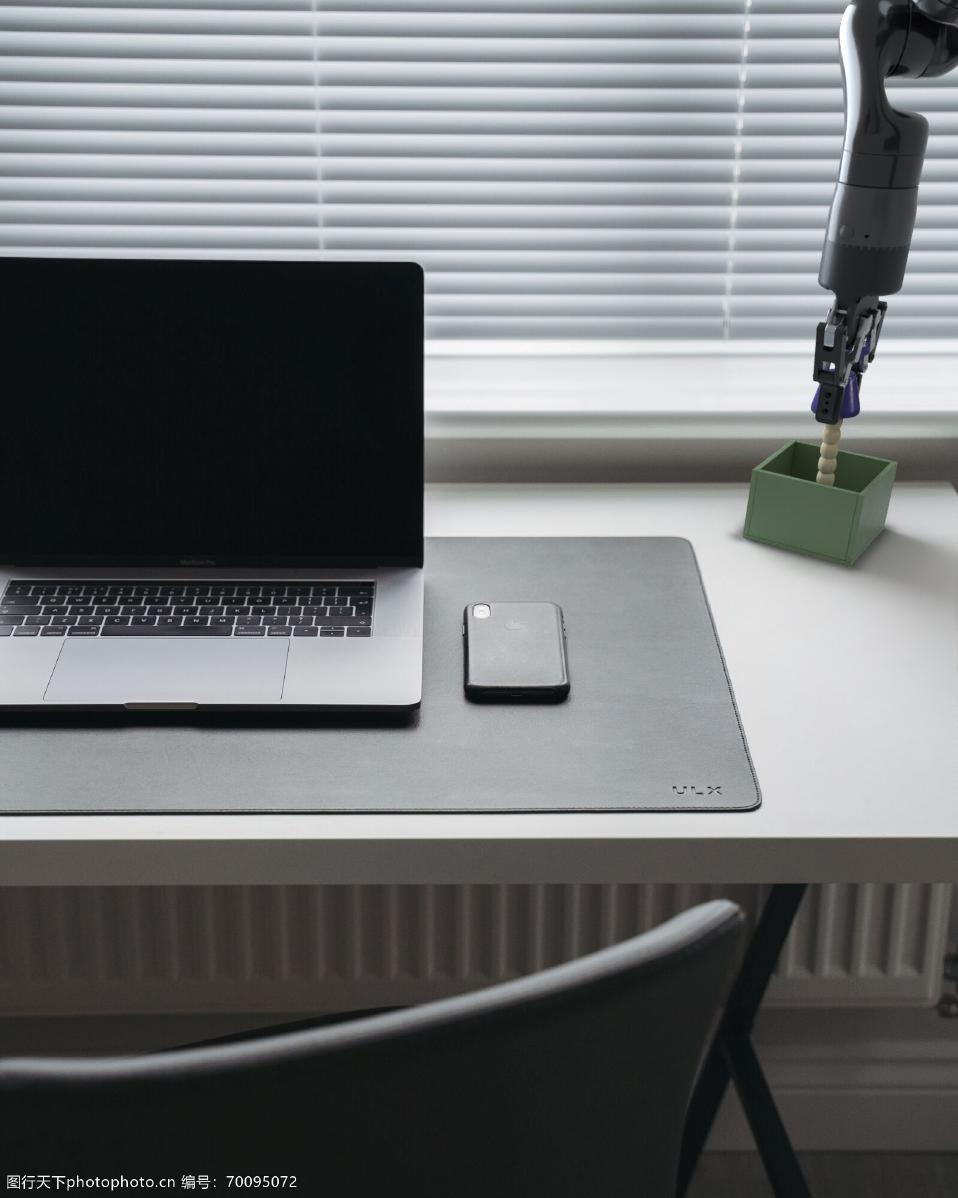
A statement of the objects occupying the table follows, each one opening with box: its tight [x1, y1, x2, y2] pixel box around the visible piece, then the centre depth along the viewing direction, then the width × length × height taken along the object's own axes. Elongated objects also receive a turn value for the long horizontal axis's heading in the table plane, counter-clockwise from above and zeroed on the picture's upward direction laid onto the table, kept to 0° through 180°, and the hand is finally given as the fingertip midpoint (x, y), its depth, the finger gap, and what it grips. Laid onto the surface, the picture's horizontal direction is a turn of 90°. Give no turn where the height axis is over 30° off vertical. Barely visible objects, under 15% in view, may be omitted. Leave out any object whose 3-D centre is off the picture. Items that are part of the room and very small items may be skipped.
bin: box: [742, 438, 899, 567], centre depth 113 cm, size 11×11×8 cm
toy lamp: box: [810, 367, 861, 486], centre depth 110 cm, size 5×5×17 cm
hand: (835, 414), depth 108 cm, fingers closed on toy lamp, 4 cm apart
